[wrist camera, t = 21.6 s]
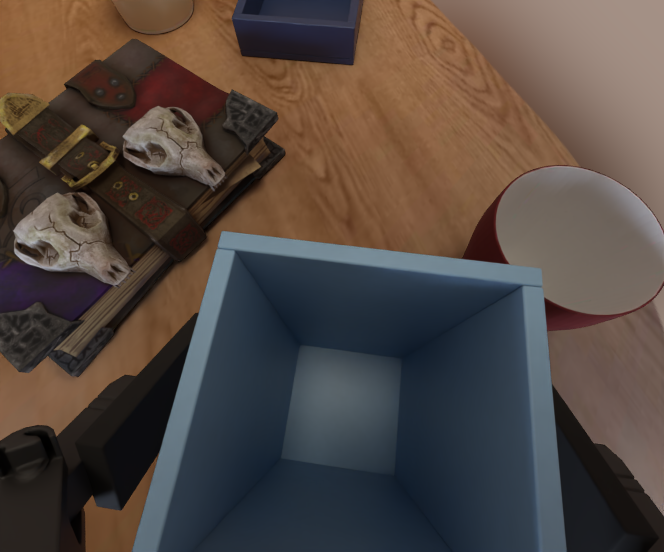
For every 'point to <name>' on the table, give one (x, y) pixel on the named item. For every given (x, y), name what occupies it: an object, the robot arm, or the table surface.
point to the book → (112, 195)
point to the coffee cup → (154, 14)
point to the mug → (576, 243)
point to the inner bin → (360, 408)
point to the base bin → (298, 29)
